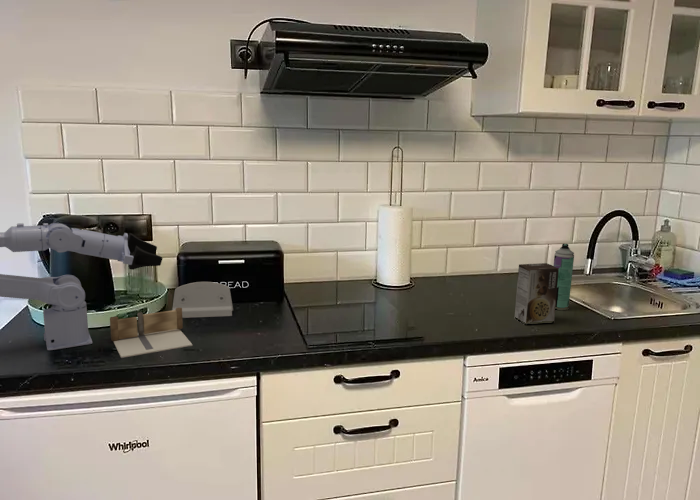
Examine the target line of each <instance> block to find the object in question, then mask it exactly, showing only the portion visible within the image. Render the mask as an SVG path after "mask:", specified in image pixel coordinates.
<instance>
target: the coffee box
mask: <svg viewBox="0 0 700 500" xmlns="http://www.w3.org/2000/svg"><path fill="white" fill-rule="evenodd" d="M517 272H518V274H517V282H516V283H517V285H516V294H515V295H516V296H515V310H514V318H515V317H516V318H518V319H520V320H521V321H523V322H525V323H530V322H542V321H554V322H555V316H556V315H555V314H556V310H555V306H556V295H557V283H558V272H559V268H556V267H554V265H552V264H549V263H547V262H545V263H542V262H541V263H525V264H524V263H522V264H518V271H517Z"/></svg>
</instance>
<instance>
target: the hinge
mask: <svg viewBox="0 0 700 500" xmlns="http://www.w3.org/2000/svg"><path fill="white" fill-rule="evenodd" d="M176 308H182V319H186V318H209V317H210V318H213V317H215V318H217V317H232V316H233V312H234V307H233V301H232V294H231V287H229V286H228V285H226V284H223V283H218V282H213V281H196V282H190V283H187V284H182V285H180V286H178V287H175V289H174V294H173V301H172V308H171V311H172V310H176Z"/></svg>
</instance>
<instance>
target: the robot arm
mask: <svg viewBox="0 0 700 500" xmlns="http://www.w3.org/2000/svg"><path fill="white" fill-rule="evenodd" d="M0 248H6V249H8V250H9V251H11V252H12V253H22V252H26V253H27V252H41V251H46V250H48V249H51V250H53V251H56V252H57V253H65V252H72V253H73V252H75V253H77V254H81V255H85V256H86V255H87V256H93V257H97V258H102V259H103V258H104V259H108V260H115V261H117V262H121V263H122V264H123V265H125V264H126V265H128V269H129V270H136V269H138V268H139V269H140V268H144V267H158V266H159V267H160V266H161V265H162V262H163V257H162V256H160V255H159V254H156V253H157V249H158V246H156V245H155V244H152V243H150V242H147V241H145V240H142V239H141V238H139V237H138V236H136V235H135V234H134V233H131V232H128V233H127V232H124V233H123V235H113V234H107V233H104V232H100V231H99V232H98V231H94V230H93V231H92V230H89V229H80V228H75V227H71V228H70V227H69V226H67V225H66V224H63V223H57V222H52V223H50V224H49V223H45V222H43V223H42V225H25V224H24V223H23V222H22V223H17V224H16V225H14V226H10V227H9V228H8V229H7V230H6V231H4V232H0ZM0 297H1V298H11V299H22V300H35V301H40V302H42V303H45V304H47V305H51V306H52V307H50V308H45V309H43V310H42V311H43V312H42V315H43V324H44V325H43V326H44V333H43V341H45V345H46V350H47V351H53V350H54V351H55V350H61V349H66V348H67V349H68V348H74V347H79V346H87V345H91V344H93V340H92V338H91V334H90V331H89V323H88V309H87V302H86V301H85V300H86V292H85V290H84V288H83V287H82V283H81V281H80V279H79V278H78V277H76V276H75V275H72V274H64V275H60V276H46V277H36V276H35V277H32V276H24V275H13V274H2V273H0Z"/></svg>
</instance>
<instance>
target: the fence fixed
mask: <svg viewBox="0 0 700 500" xmlns="http://www.w3.org/2000/svg"><path fill="white" fill-rule="evenodd" d="M109 324H110V325H109V327H110V341H112V342H113V341H118V340H119V339H125V338H132V337H138V317H137V316H132V317H126V318H125V317H124V318H119V317H118V316H111V317H109Z"/></svg>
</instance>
